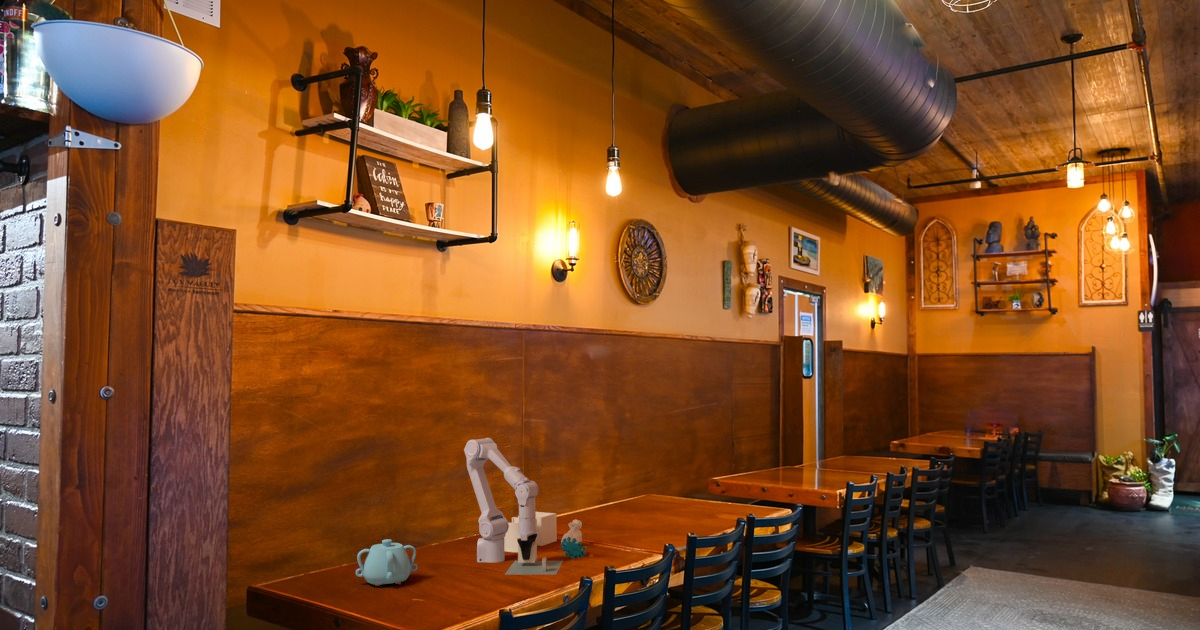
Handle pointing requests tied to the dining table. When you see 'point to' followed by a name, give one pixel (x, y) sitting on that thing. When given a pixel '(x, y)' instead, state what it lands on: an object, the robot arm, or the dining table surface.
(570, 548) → the gear
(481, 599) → the dining table surface
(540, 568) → the base plate
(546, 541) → the storage container
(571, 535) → the bust
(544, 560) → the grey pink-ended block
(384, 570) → the decorative pot
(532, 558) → the cabinet with handle
